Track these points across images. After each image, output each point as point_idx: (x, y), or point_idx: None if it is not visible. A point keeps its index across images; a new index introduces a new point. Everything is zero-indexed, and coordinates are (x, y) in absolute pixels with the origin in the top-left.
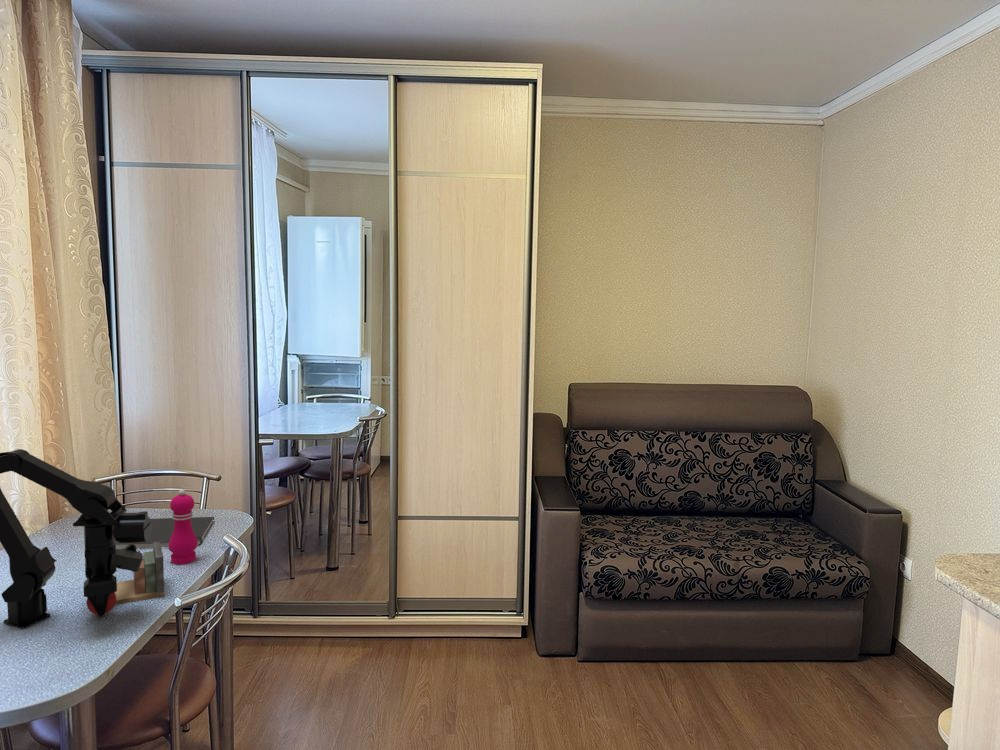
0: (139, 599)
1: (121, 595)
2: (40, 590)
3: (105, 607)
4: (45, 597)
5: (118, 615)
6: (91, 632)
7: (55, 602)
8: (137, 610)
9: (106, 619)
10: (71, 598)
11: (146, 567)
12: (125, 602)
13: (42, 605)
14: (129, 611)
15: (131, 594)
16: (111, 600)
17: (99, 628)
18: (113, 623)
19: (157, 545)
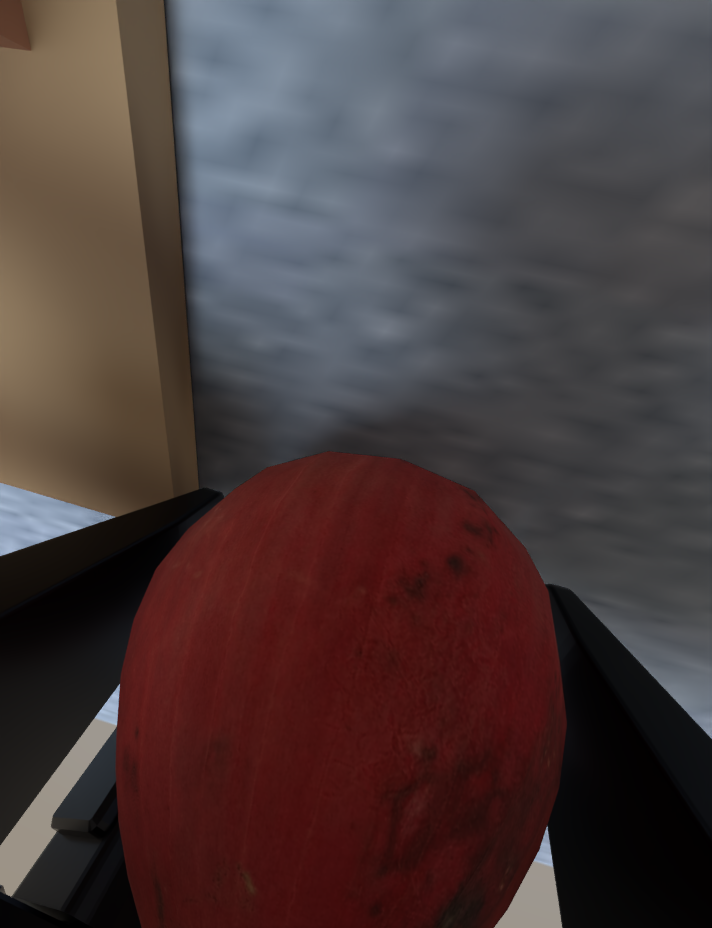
0: (152, 8)
1: (39, 263)
2: (80, 921)
3: (675, 710)
4: (115, 806)
5: (476, 390)
6: (653, 644)
7: None
8: (504, 122)
9: (484, 500)
10: (14, 549)
11: None
12: (179, 241)
13: None
14: (455, 248)
15: (23, 116)
16: (553, 634)
17: (634, 590)
18: (644, 481)
19: None
